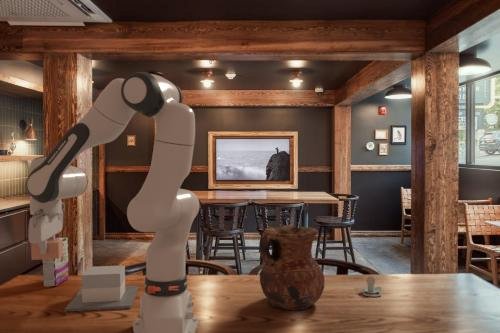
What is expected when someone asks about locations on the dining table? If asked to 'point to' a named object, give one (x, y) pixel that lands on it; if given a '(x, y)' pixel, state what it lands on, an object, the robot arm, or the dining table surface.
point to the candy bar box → (56, 267)
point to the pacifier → (371, 288)
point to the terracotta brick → (53, 250)
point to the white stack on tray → (103, 290)
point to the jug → (290, 267)
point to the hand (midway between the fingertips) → (47, 251)
